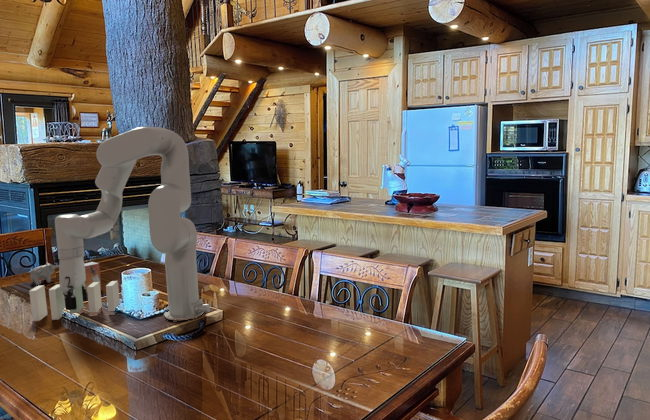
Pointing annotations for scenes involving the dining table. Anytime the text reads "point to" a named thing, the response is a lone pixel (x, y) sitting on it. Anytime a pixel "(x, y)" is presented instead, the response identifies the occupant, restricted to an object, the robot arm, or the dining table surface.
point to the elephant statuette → (42, 273)
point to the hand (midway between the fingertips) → (76, 304)
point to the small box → (92, 273)
